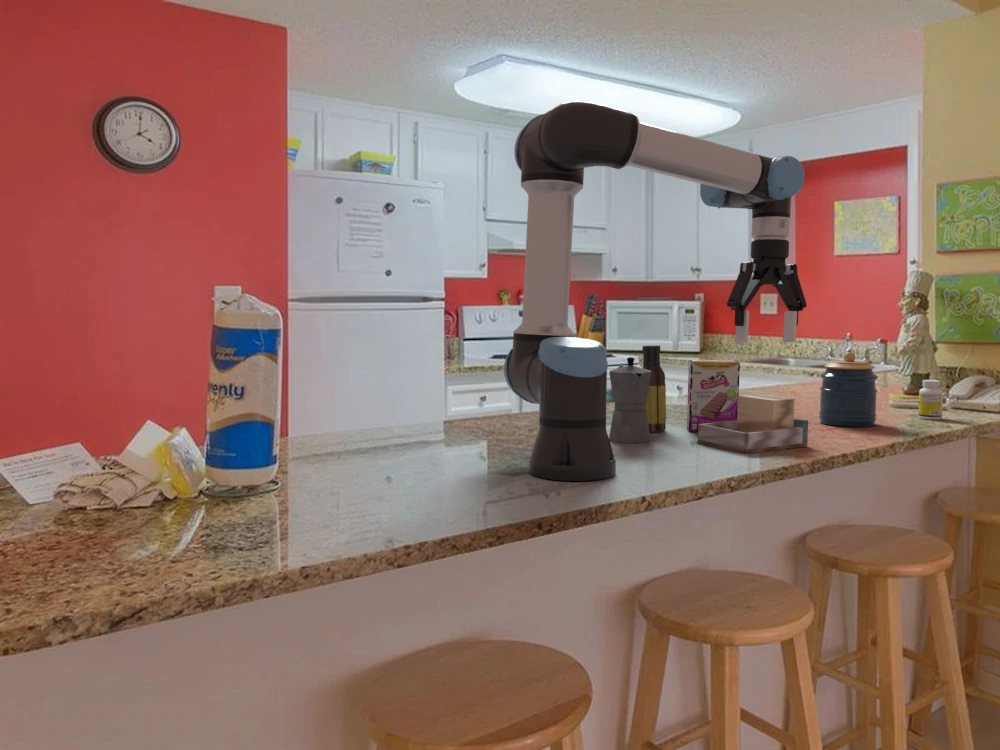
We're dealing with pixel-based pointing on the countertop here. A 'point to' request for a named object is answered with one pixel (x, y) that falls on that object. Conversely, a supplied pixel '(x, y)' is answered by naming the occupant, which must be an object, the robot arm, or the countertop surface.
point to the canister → (848, 393)
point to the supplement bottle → (930, 400)
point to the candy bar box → (712, 392)
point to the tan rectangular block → (764, 413)
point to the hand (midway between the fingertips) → (766, 342)
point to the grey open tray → (753, 437)
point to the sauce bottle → (655, 389)
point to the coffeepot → (630, 404)
